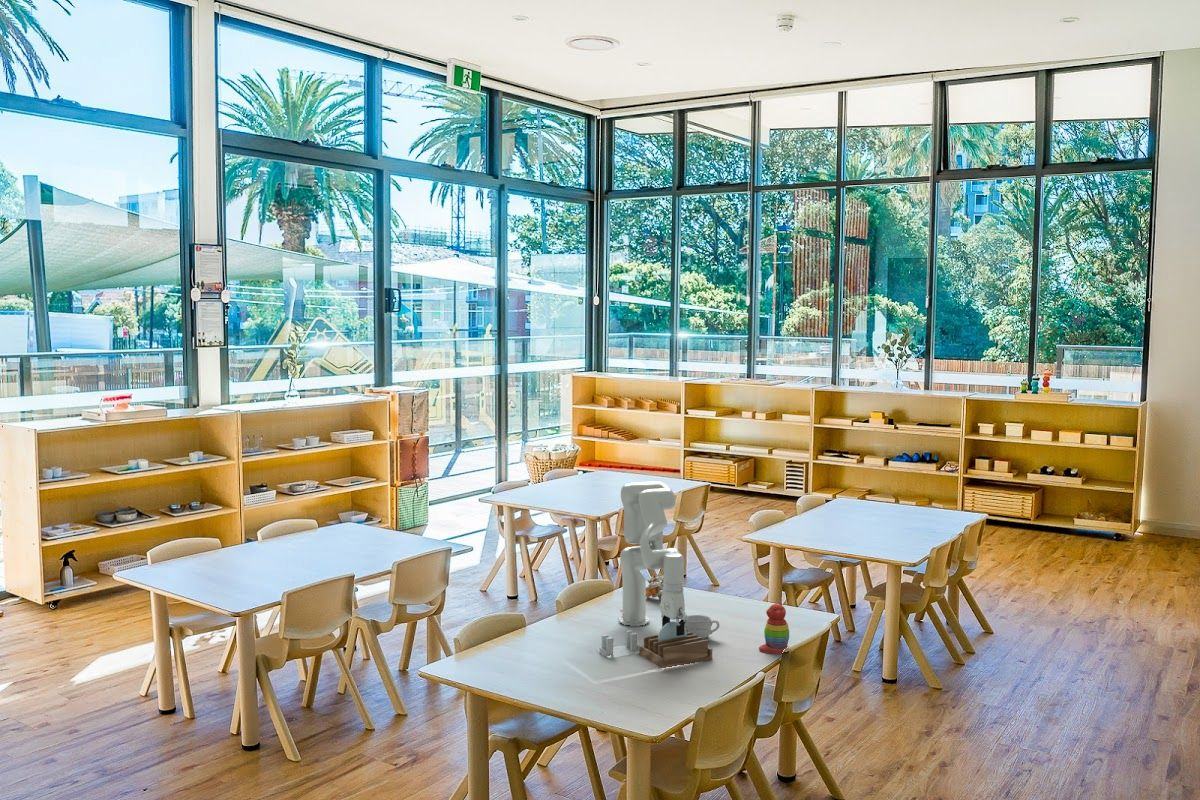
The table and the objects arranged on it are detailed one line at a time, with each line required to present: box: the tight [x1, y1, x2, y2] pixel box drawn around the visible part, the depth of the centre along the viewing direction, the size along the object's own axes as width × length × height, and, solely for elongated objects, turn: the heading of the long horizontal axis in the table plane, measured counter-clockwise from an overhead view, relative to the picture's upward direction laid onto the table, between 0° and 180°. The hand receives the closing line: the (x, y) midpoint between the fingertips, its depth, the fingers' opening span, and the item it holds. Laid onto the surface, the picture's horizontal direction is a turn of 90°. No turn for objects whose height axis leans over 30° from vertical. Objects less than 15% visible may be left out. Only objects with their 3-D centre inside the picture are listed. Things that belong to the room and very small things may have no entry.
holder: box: [598, 629, 641, 659], centre depth 383 cm, size 10×15×8 cm, turn 119°
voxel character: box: [646, 572, 663, 600], centre depth 449 cm, size 11×10×15 cm
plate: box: [657, 620, 687, 641], centre depth 379 cm, size 1×12×12 cm, turn 118°
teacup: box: [684, 614, 720, 640], centre depth 400 cm, size 14×11×8 cm
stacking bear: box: [758, 602, 790, 655], centre depth 386 cm, size 11×10×18 cm
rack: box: [638, 629, 713, 668], centre depth 378 cm, size 16×22×7 cm
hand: (673, 631), depth 379 cm, fingers open, 9 cm apart
